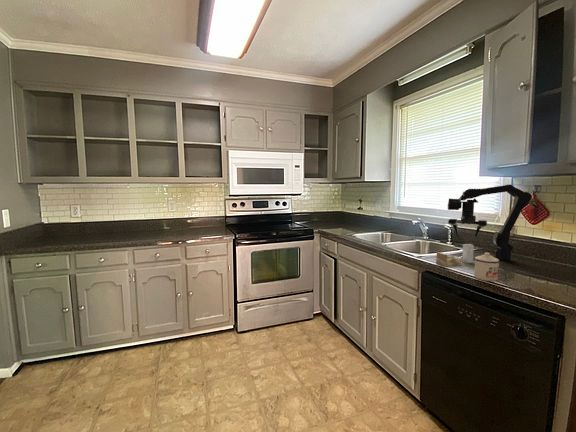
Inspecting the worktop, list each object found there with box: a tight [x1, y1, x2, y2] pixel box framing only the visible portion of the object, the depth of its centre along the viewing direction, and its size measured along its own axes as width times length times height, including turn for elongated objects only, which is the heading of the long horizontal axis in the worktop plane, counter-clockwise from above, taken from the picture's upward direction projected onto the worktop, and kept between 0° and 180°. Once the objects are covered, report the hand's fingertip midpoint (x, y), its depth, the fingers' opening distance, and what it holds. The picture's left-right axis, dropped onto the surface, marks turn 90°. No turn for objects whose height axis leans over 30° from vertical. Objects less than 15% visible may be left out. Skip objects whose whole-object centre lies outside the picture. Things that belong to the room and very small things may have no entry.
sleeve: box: [435, 251, 462, 267], centre depth 150 cm, size 10×6×6 cm, turn 103°
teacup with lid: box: [473, 252, 500, 282], centre depth 126 cm, size 12×9×12 cm
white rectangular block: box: [461, 243, 475, 264], centre depth 152 cm, size 4×3×10 cm
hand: (466, 236), depth 164 cm, fingers open, 9 cm apart
